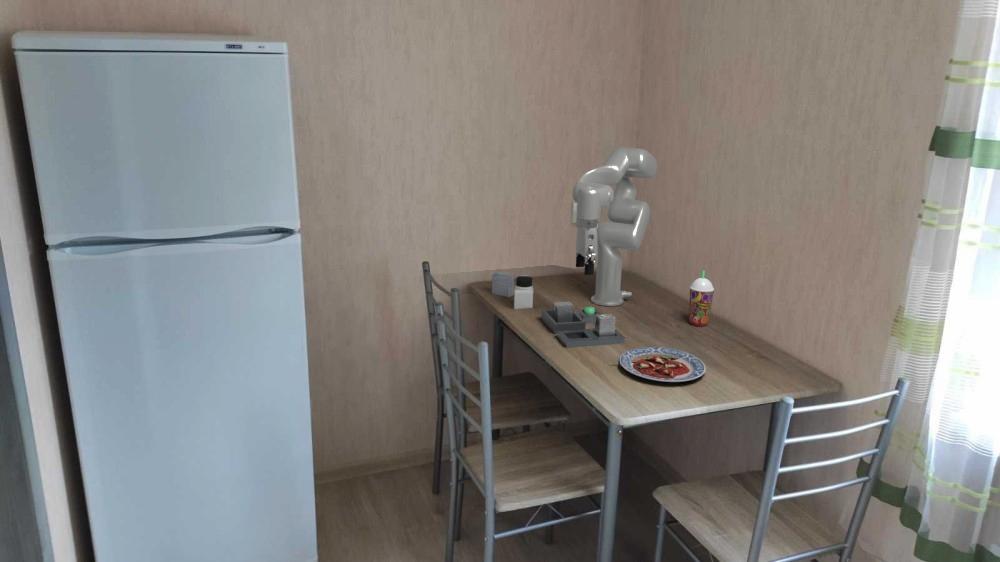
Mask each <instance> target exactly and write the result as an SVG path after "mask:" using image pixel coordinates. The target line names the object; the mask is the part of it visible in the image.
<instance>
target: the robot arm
mask: <svg viewBox="0 0 1000 562" xmlns="http://www.w3.org/2000/svg"><path fill="white" fill-rule="evenodd" d="M657 171H658V162H657V159H656V158H655V157H654V156H653V155H652V154H651V153H650V152H649V151H647V150H646V149H644V148H640V147H639V148H638V147H636V148H635V147H627V146H626V147H625V146H624V147H623V146H619V147H617V148H615V149H613V150H612V151H611V153H610V154H609V156H608V157H607V158H606V160H605V162H603V164H602V165H601V166H598V167H596V168H592V169H591V170H588V171H586V172H585V173H583V174H582V175H581V176H580V177H579V178H578V180H576V181H577V182H575V185H574V187H573V190H572V199H573V201H574V202H575V203H576V223H575V227H576V228H577V232H576V239H575V240H576V242H575V249H576V253H575V254H576V256H575V267H576V268H584V275H585V276H591V275H594V274H595V272H594V271H595V261H597V262H596V275H595V276H596V277H595V292H594V293H595V294H593V295H592V296H591V297H590V302H591V303H593V304H596V305H598V306H602V307H616V306H617V307H618V306H620V305H623V304H624V298H628V297H632V295H633V294H632V293H633V292H632V291H626V290H622V289H621V283H622V282H621V280H622V271H623V257H622V254H621V252H620V250H619V249H622V250H631V251H636V250H638V249H639V248H640V247H641V245H642V243H643V240H644V237H645V233H646V231H647V228H648V225H649V221H650V216H651V209H650V205H649V204H648V203H647V202H646V201H645V200H644V201H643V200H637V199H636V197H637V195H638V193H637V188H636V186H635V185H634V183H633V182H632V181H631V179H630V178H637V179H647V180H649V179H652V178H654V177H655V176H656V174H657ZM613 185H614V186H615V187H614V190H613V188H612V187H611V186H613ZM607 206H609V207H608V210H607V217H608V218H607V219H608V220H609V221H603V222H602V223H600V224H599V214H600V212H599V211H600V207H607ZM596 257H597V258H596ZM596 259H597V260H596Z"/></svg>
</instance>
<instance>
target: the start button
mask: <svg viewBox="0 0 1000 562" xmlns="http://www.w3.org/2000/svg"><path fill="white" fill-rule="evenodd" d="M583 309H584V313H585V314H594V312H595V309H596V308H595V307H594V306H589V305H587V306H585V307H584V308H583Z"/></svg>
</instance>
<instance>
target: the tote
mask: <svg viewBox="0 0 1000 562" xmlns="http://www.w3.org/2000/svg"><path fill="white" fill-rule="evenodd" d="M541 320H542V321H543V322H544V323H545V325H546V326H547V327H548V329H550V330H551V332H552V333H553V334H554V335H557V331H565V330H579V329H586V326H587V324H586V322H585V321H584V320H583V319H582V318H581V317H580V316H579V315H578V314H577V311H575V310H574V309H573V322H566V323H556V321H555V320H554V308H549V309H542V310H541Z"/></svg>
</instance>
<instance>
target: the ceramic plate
mask: <svg viewBox="0 0 1000 562" xmlns="http://www.w3.org/2000/svg"><path fill="white" fill-rule="evenodd" d="M644 355H652V356H646V357H645V358H640V359H638V360H636V361H633V360H634V359H635V358H637V357H640V356H644ZM654 355H662V356H661V357H660V356H654ZM663 355H664V356H663ZM667 356H669V357H667ZM673 357H675V358H673ZM662 358H663V359H662ZM619 364H620V365H621V367H622V368H623V369H624V370H625V371H626V372H629V373H630V374H632V375H635V376H637V377H640V378H643V379H646V380H651V381H657V382H666V383H667V382H668V383H681V382H688V381H693V380H696V379H698V378H700V377H702V376H703V375H704V374H705V373H706V371H707V370H706V369H707V368H706V365H705V363H704V362H703V360H701V359H700V358H698V357H697V356H696V355H695V356H694V355H693V354H690V353H688V352H685V351H683V350H679V349H673V348H668V347H657V346H648V347H637V348H633V349H629V350H627V351H625V352H623V353H622V354H621V355H620V357H619Z"/></svg>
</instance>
